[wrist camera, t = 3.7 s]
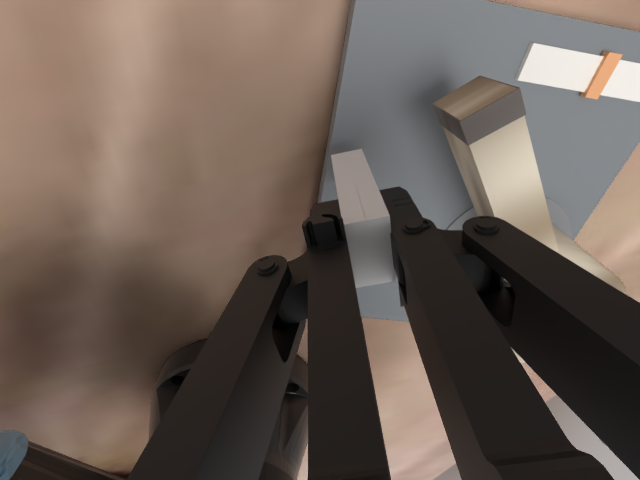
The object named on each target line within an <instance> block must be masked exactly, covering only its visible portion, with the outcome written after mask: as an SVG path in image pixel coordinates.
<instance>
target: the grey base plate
mask: <svg viewBox="0 0 640 480" xmlns="http://www.w3.org/2000/svg"><path fill="white" fill-rule="evenodd" d="M478 76H483V77H487V78H490V79H493V80H496V81H500V82H503V83H506V84H509V85H513V86H516V87H519V88H520V90H521V94H522V98H523V102H524V106H525V110H526V115H525V119H526V123H527V127H528V131H529V135H530V139H531V143H532V147H533V151H534V155H535V159H536V163H537V167H538V171H539V175H540V179H541V183H542V187H543V191H544V195H545V199H546V203H547V207H548V211H549V215H550V219H551V223H553V224H554V225H555V226H556V227H558V228H559V229H560V230H561V231H562V232H564V233H565V234H566V235H567V236H569V237H570V238H571V239H572V240H574V238H575V237H576V236H577V234H578V233H579V231H580V230H581V228H582V227H583V225H584V224H585V222H586V221H587V219H588V218H589V216H590V215H591V213H592V212H593V210H594V209H595V207H596V206H597V204H598V203H599V201H600V200H601V198H602V197H603V195H604V194H605V192H606V191H607V189H608V188H609V186H610V185H611V183H612V182H613V181H614V179H615V178H616V176H617V175H618V173H619V172H620V170H621V169H622V167H623V166H624V164H625V163H626V161H627V160H628V158H629V157H630V155H631V154H632V152H633V151H634V149H635V148H636V146H637V145H638V143H639V142H640V32H637V31H632V30H627V29H622V28H618V27H613V26H608V25H603V24H598V23H593V22H588V21H583V20H579V19H574V18H569V17H564V16H559V15H554V14H549V13H544V12H540V11H535V10H530V9H525V8H520V7H515V6H510V5H505V4H501V3H496V2H491V1H486V0H351V4H350V10H349V16H348V22H347V28H346V34H345V40H344V46H343V52H342V58H341V64H340V70H339V76H338V82H337V88H336V94H335V100H334V106H333V112H332V117H331V123H330V129H329V135H328V141H327V147H326V153H325V159H324V165H323V171H322V177H321V183H320V189H319V195H318V201H317V203H321V202H326V201H331V200H336V199H338V195H337V189H336V183H335V177H334V171H333V165H332V159H331V155H334V154H338V153H343V152H348V151H353V150H358V149H362V151H363V153H364V156H365V158H366V160H367V163H368V165H369V167H370V170H371V172H372V175H373V177H374V179H375V182H376V184H377V186H378V189H379V190H383V189H388V188H393V187H398V186H399V187H401V188H403V189H405V190H407V191H408V193H409V195H410V196H411V198H412V200H413V201H414V203H415V205H416V206H417V208H418V210H419V212H420V213H421V215H422V217H423V218H426V219H429V220H431V221H432V222H433V223H434V224H435V226H436V227H437V229H442V230H462V225H463V224H464V222H465V221H466V220H468V219H470V218H473V217H478V216H477V214H476V211H475V209H474V206H473V203H472V201H471V198H470V196H469V193H468V191H467V188H466V185H465V183H464V180H463V178H462V175H461V173H460V170H459V168H458V165H457V162H456V160H455V157H454V155H453V152H452V150H451V147H450V145H449V142H448V139H447V137H446V134H445V132H444V129H443V127H442V125H440V123H439V120H438V118H437V115H436V113H435V110H434V108H433V105H432V103H434V102H436V101H437V100H439V99H441V98H442V97H444V96H446V95H447V94H449V93H451V92H453V91H454V90H456V89H458V88H459V87H461V86H463V85H464V84H466V83H468V82H470V81H471V80H473V79H475V78H476V77H478ZM395 274H396V272H395ZM356 292H357V297H358V303H359V308H360V313H361V317H363V318H375V319H386V320H397V321H409V319H408V316H407V313H406V310H405V307H404V306H403V307H400V296H399V286H398V278H397V275H396V281H394V282H388V283H382V284H376V285H371V286H365V287H359V288H356Z"/></svg>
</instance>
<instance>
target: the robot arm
mask: <svg viewBox="0 0 640 480" xmlns="http://www.w3.org/2000/svg"><path fill="white" fill-rule="evenodd" d="M331 159H332V165H333V171H334V177H335V183H336V189H337V195H338V199H336V200H331V201H326V202H321V203H316V204H315V205H314V206H313V207H312V209H311V210H310V211H311V217H309V218H307V219H306V220H305V221H304V222H303V225H302V229H303V232H304V236H305V240H306V243H307V247H308V251H307V252H306V253H305V254H303V255H302V256H300V257H299V258H296V259H294V260H292V261H289V262H287V261H286V259H285V258H284V257H282V256H277V255H272V256H266V257H263V258H261V259H259V260H257V261H256V262H254V263H253V264H252V265H251V266H250V267H249V269H248V270H247V272H246V274H245V276H244V277H243V279H242V281H241V282H240V284H239V286H238V288H237V289H236V291H235V293H234V295H233V296H232V298H231V300H230V302H229V303H228V305H227V307H226V308H225V310H224V312H223V314H222V315H221V317H220V319H219V321H218V322H217V324H216V326H215V328H214V329H213V331H212V333H211V334H210V336H209V338H208V340H203V341H200V342H196V343H193V344H191V345H188V346H186V347H184V348H182V349H180V350H179V351H177V352H176V353H174V354H173V355H172V356H171V357H170V358H169V359H168V360H167V361H166V362H165V364H164V365H163V367H162V369H161V372H160V374H159V376H158V379H157V381H156V384H155V386H154V388H153V392H152V396H151V408H150V425H149V442H148V444H147V445H146V447H145V449H144V451H143V452H142V454H141V456H140V457H139V459H138V461H137V463H136V464H135V466H134V468H133V470H132V471H131V473H130V475H129V477H128V478H127V479H124V478H121V477H119V476H116V475H114V474H111V473H109V472H106V471H104V470H101V469H99V468H96V467H93V466H91V465H88V464H86V463H83V462H81V461H78V460H76V459H73V458H71V457H68V456H65V455H63V454H60V453H58V452H55V451H53V450H50V449H48V448H45V447H43V446H40V445H38V444H35V443H32V442H30V441H28V438H27V437H26V435H25V434H23V433H21V432H18V431H15V430H4V431H0V480H297V477H298V473H299V469H300V466H301V463H302V459H303V456H304V453H305V449H306V446H307V443H308V480H391V477H390V471H389V466H388V460H387V455H386V450H385V444H384V439H383V433H382V428H381V422H380V417H379V411H378V406H377V401H376V395H375V390H374V384H373V379H372V373H371V368H370V362H369V357H368V352H367V346H366V341H365V335H364V330H363V324H362V319H361V313H360V308H359V303H358V297H357V292H356V288H359V287H365V286H371V285H376V284H382V283H388V282H394V281H396V275H397V278H398V286H399V296H400V307H403V306H404V307H405V310H406V313H407V316H408V319H409V322H410V325H411V328H412V331H413V334H414V337H415V340H416V343H417V346H418V349H419V353H420V356H421V359H422V362H423V365H424V368H425V371H426V374H427V377H428V380H429V383H430V386H431V389H432V392H433V395H434V398H435V401H436V404H437V407H438V410H439V413H440V416H441V419H442V422H443V425H444V428H445V431H446V434H447V437H448V440H449V443H450V446H451V449H452V452H453V455H454V458H455V461H456V464H457V467H458V470H459V472H460V476H461V479H462V480H614V479H613V478H612V476H611V475H610V474H609V472H608V471H607V470H606V468H605V467H604V466H603V465H602V464H601V463H600V462H599V461H598V460H596V459H595V458H594V457H593V456H592V455H590V454H587V453H585V452H582V451H579V450H577V449H576V448H575V447H574V446H573V445H572V444H571V443H570V441H569V440H568V439H567V437H566V436H565V434H564V433H563V431H562V429H561V428H560V426H559V425H558V423H557V421H556V420H555V418H554V416H553V415H552V413H551V412H550V410H549V408H548V407H547V405H546V404H545V402H544V400H543V399H542V397H541V395H540V394H539V392H538V391H537V389H536V387H535V386H534V384H533V383H532V381H531V379H530V378H529V376H528V374H527V373H526V371H525V370H524V368H523V366H522V365H521V363H520V361H519V360H518V358H517V357H516V355H515V353H514V352H513V350H514V351H515V352H516V353H517V354H518V355H519V356H520V357H521V358H522V359H523V360H524V361H525V362H526V363H527V364H528V365H529V366H530V367H531V368H532V369H533V370H534V371H535V373H536V374H537V375H538V376H539V377H540V378H541V379H542V380H543V381H544V382H545V383H546V384H547V385H548V386H549V387H550V388H551V389H552V390H553V391H554V392H555V393H556V394H557V395H558V396H559V397H560V398H561V399H562V400H563V401H564V402H565V403H566V404H567V405H568V406H569V407H570V409H571V410H572V411H573V412H574V413H575V414H577V416H578V417H579V418H580V419H581V420H582V421H583V422H584V423H585V424H586V425H587V426H588V427H589V428H590V429H591V430H592V431H593V432H594V433H595V434H596V435H597V436H598V437H599V438H600V439H601V440H602V441H603V442H604V444H605V445H606V446H607V447H608V448H609V449H610V450H611V451H612V452H613V453H614V454H615V455H616V456H617V457H618V458H619V459H620V460H621V461H622V462H623V463H624V464H625V465H626V466H627V467H628V468H629V469H630V470H631V471H632V472H633V473H634V474H635V475H636V476H637V477H638V479H640V303H639V302H637V301H636V300H634V299H632V298H631V297H629V296H627V295H626V294H624V293H623V292H621V291H619V290H618V289H616V288H614V287H613V286H611V285H609V284H608V283H606V282H605V281H603V280H601V279H600V278H598V277H596V276H595V275H593V274H592V273H590V272H588V271H587V270H585V269H583V268H582V267H580V266H578V265H577V264H575V263H574V262H572V261H570V260H569V259H567V258H565V257H564V256H562V255H560V254H559V253H557V252H556V251H554V250H552V249H551V248H549V247H547V246H546V245H544V244H543V243H541V242H539V241H538V240H536V239H534V238H533V237H531V236H529V235H528V234H526V233H525V232H523V231H521V230H520V229H518V228H516V227H515V226H513V225H512V224H510V223H508V222H507V221H505V220H502V219H500V218H498V217H492V216H478V217H473V218H470V219H468V220H466V221H465V222H464V224H463V225H462V230H442V229H437V227H436V226H435V224H434V223H433V222H432V221H431V220H429V219H426V218H423V217H422V215H421V213H420V212H419V210H418V208H417V206H416V205H415V203H414V201H413V200H412V198H411V196H410V195H409V193H408V191H407V190H405V189H403V188H401V187H399V186H398V187H393V188H388V189H383V190H379V189H378V186H377V184H376V182H375V179H374V177H373V175H372V172H371V170H370V167H369V165H368V163H367V160H366V158H365V156H364V153H363V151H362V149H358V150H353V151H348V152H343V153H338V154H334V155H331ZM395 272H396V274H395ZM307 318H308V365H307V364H306V363H305V362H304V361H303V360H301V359H300V358H299V357H298V356H296V354H297V351H298V348H299V344H300V341H301V338H302V334H303V331H304V328H305V323H306V319H307ZM511 348H512V349H513V350H512V349H511Z"/></svg>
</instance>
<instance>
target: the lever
mask: <svg viewBox="0 0 640 480" xmlns="http://www.w3.org/2000/svg"><path fill="white" fill-rule="evenodd" d="M432 105H433V108H434V110H435V113H436V115H437V118H438V120H439V123H440V125H442V127H443V129H444V132H445V134H446V137H447V139H448V142H449V145H450V147H451V150H452V152H453V155H454V157H455V160H456V162H457V165H458V168H459V170H460V173H461V175H462V178H463V180H464V183H465V185H466V188H467V191H468V193H469V196H470V198H471V201H472V203H473V206H474V209H475V211H476V214H477V216H492V217H498V218H500V219H502V220H505V221H507V222H508V223H510V224H512V225H513V226H515V227H516V228H518V229H520V230H521V231H523V232H525V233H526V234H528V235H529V236H531V237H533V238H534V239H536V240H538V241H539V242H541V243H543V244H544V245H546V246H547V247H549V248H551V249H552V250H554V251H556V252H557V253H559V254H560V255H562V256H564V257H565V258H567V259H569V260H570V261H572V262H574V263H575V264H577V265H578V266H580V267H582V268H583V269H585V270H587V271H588V272H590V273H592V274H593V275H595V276H596V277H598V278H600V279H601V280H603V281H605V282H606V283H608V284H609V285H611V286H613V287H614V288H616V289H618V290H619V291H621V292H623V293H624V294H626V295H627V291H626V287H625V285H624V283H623V282H622V281H621V280H620V278H619V277H617V276H616V275H615V274H614V273H613V272H611V271H610V270H609V269H608V268H606V267H605V266H604V265H603V264H602V263H600V262H599V261H598V260H597V259H595V258H594V257H593V256H592V255H591V254H589V253H588V252H587V251H586V250H584V249H583V248H582V247H581V246H580V245H578V244H577V243H576V242H575V241H573V240H572V239H571V238H570V237H569V236H567V235H566V234H565V233H564V232H562V231H561V230H560V229H559V228H558V227H556V226H555V225H554V224H553V223H551V219H550V215H549V211H548V207H547V203H546V199H545V195H544V191H543V187H542V183H541V179H540V175H539V171H538V167H537V163H536V159H535V155H534V151H533V147H532V143H531V139H530V135H529V131H528V127H527V123H526V119H525V115H526V110H525V106H524V102H523V98H522V94H521V90H520V88H519V87H516V86H513V85H509V84H506V83H503V82H500V81H496V80H493V79H490V78H487V77H483V76H478V77H476V78H475V79H473V80H471V81H470V82H468V83H466V84H464V85H463V86H461V87H459V88H458V89H456V90H454V91H453V92H451V93H449V94H447V95H446V96H444V97H442V98H441V99H439V100H437V101H436V102H434V103H432ZM511 349H512V348H511ZM512 350H513V349H512ZM513 352H514V353H515V355H516V357H517V358H518V360H519V361H520V363H526V362H525V361H524V360H523V359H522V358H521V357H520V356H519V355H518V354H517V353H516V352H515V351H514V350H513Z"/></svg>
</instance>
